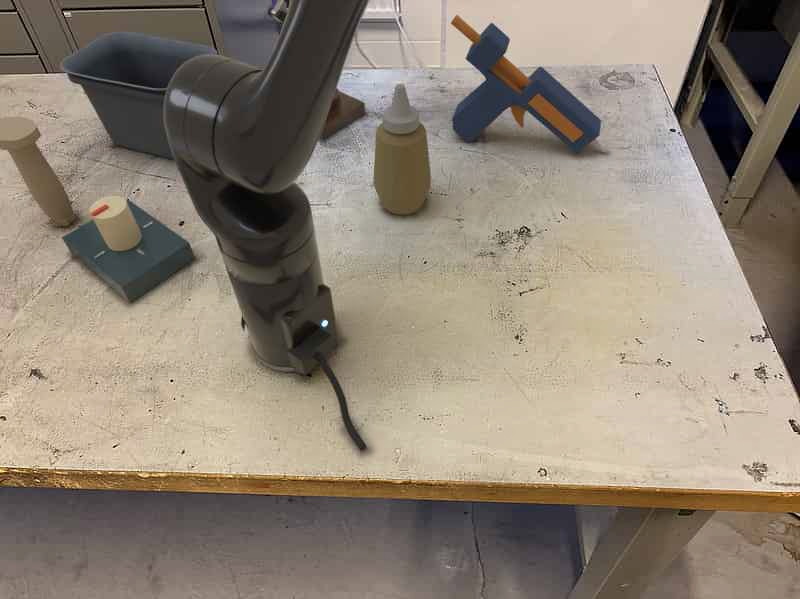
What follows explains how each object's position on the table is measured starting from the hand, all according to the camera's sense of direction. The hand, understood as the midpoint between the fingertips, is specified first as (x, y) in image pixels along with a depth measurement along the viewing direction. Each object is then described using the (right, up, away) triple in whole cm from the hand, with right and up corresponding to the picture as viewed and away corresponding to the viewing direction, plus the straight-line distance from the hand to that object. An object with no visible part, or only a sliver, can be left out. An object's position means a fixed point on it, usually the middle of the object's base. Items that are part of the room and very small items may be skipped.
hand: (313, 57), depth 94 cm
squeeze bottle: (+14, -24, -8) cm, 29 cm away
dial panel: (-22, -32, -14) cm, 42 cm away
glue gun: (+34, -13, +1) cm, 36 cm away
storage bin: (-24, -12, +4) cm, 27 cm away
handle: (-34, -27, -9) cm, 44 cm away
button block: (0, -7, +8) cm, 10 cm away
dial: (-22, -30, -17) cm, 41 cm away
